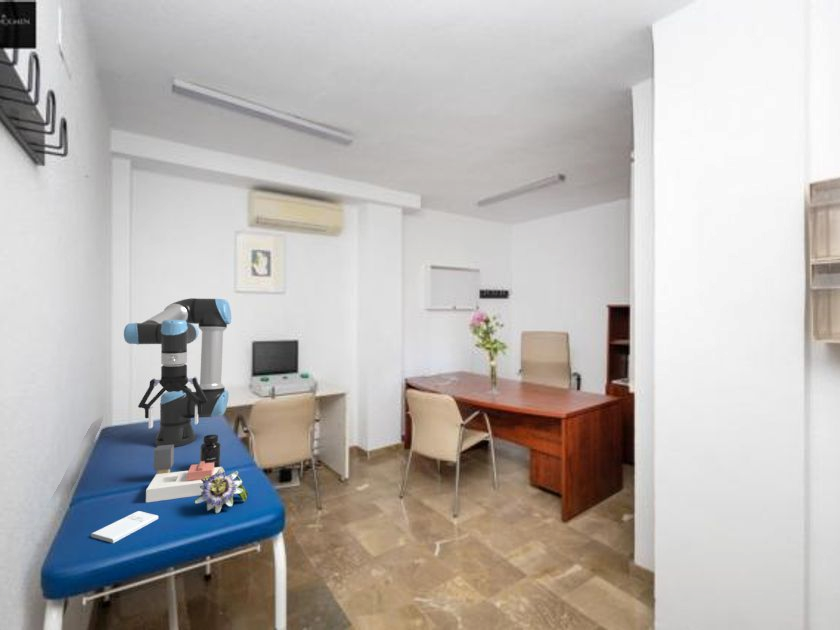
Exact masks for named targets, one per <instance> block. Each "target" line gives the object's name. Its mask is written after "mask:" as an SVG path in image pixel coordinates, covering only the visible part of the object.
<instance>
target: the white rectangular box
mask: <svg viewBox="0 0 840 630" xmlns="http://www.w3.org/2000/svg"><path fill="white" fill-rule="evenodd" d="M220 468H223V466H219V467H215V468H214V472H213V475H214V474H215V473H217V472H218V470H219V469H220ZM188 471H189V470H184V471H183V470H182V471H171V472H170V473H163V474H157V473H156V474H155V475H154V477H153V478H152V480H151V482H150V483H149V485H148V487H146V490H145V503H152V502H159V501H168V500H175V499H181V498H189V497H197V496H198V497H199V496H200V495H201V492H203V491H204V490H203V489H201V488H200V486H201V485H203V481H202V480H201V479H196V480H188ZM213 475H212V476H213ZM203 480H205V479H203Z"/></svg>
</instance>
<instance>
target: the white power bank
mask: <svg viewBox="0 0 840 630" xmlns="http://www.w3.org/2000/svg"><path fill="white" fill-rule="evenodd" d="M157 520H159V515H157V514H153V513H148V512H145V511H140V510H138V511H135V512H133V513H131V514H129V515H127V516H125V517H123V518H121V519H120V518H119V519H118V520H115V521H114V522H112V523H111V524H108V525H106V526H104V527H101V528H100V529H98V530H96V531H93V532H91V534H90V538H93V539H98V540H101V541H105V542H108V543H111V544H115V543H116V542H118V541H120V540H122V539H124V538H125V537H127V536H130V535H131V534H132V533H135V532H137V531H139V530H141V529H142V528H144V527H146V526H148V525H150V524H151V523H153V522H155V521H157Z"/></svg>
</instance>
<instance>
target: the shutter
mask: <svg viewBox="0 0 840 630" xmlns="http://www.w3.org/2000/svg"><path fill="white" fill-rule="evenodd" d="M187 471H188V480H196V479H201V478H202V479H205V477H206V476H209V477H210V476H211V477H212V475H213V472H214V462H213V463H205V461H201V462H200V461H199V463H197V464H191V465H190V467H189V469H188V470H187Z"/></svg>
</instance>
